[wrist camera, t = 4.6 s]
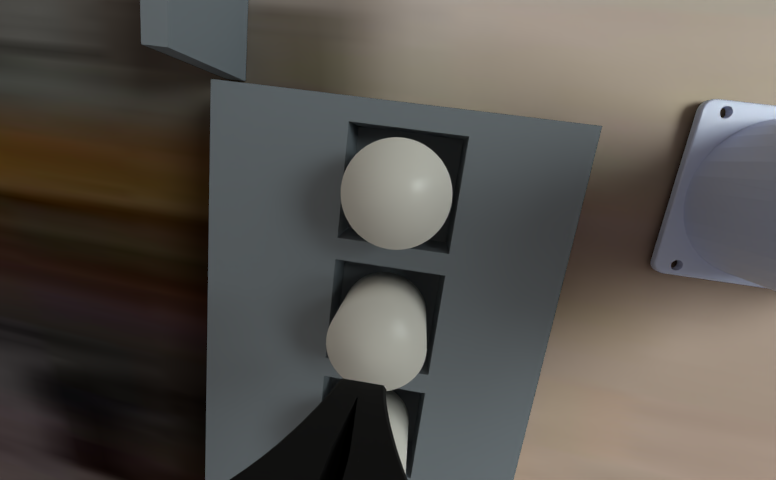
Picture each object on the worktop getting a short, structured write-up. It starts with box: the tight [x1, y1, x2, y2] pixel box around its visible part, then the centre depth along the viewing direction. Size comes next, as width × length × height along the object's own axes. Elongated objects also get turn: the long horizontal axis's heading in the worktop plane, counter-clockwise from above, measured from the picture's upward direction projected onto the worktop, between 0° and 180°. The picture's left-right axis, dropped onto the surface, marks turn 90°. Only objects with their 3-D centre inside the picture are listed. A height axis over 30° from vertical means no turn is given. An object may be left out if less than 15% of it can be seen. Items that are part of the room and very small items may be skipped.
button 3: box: [386, 390, 409, 474], centre depth 17 cm, size 4×4×3 cm
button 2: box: [326, 272, 427, 391], centre depth 16 cm, size 4×4×3 cm
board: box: [205, 79, 602, 480], centre depth 19 cm, size 16×25×3 cm, turn 173°
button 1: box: [341, 137, 452, 250], centre depth 15 cm, size 4×4×3 cm
